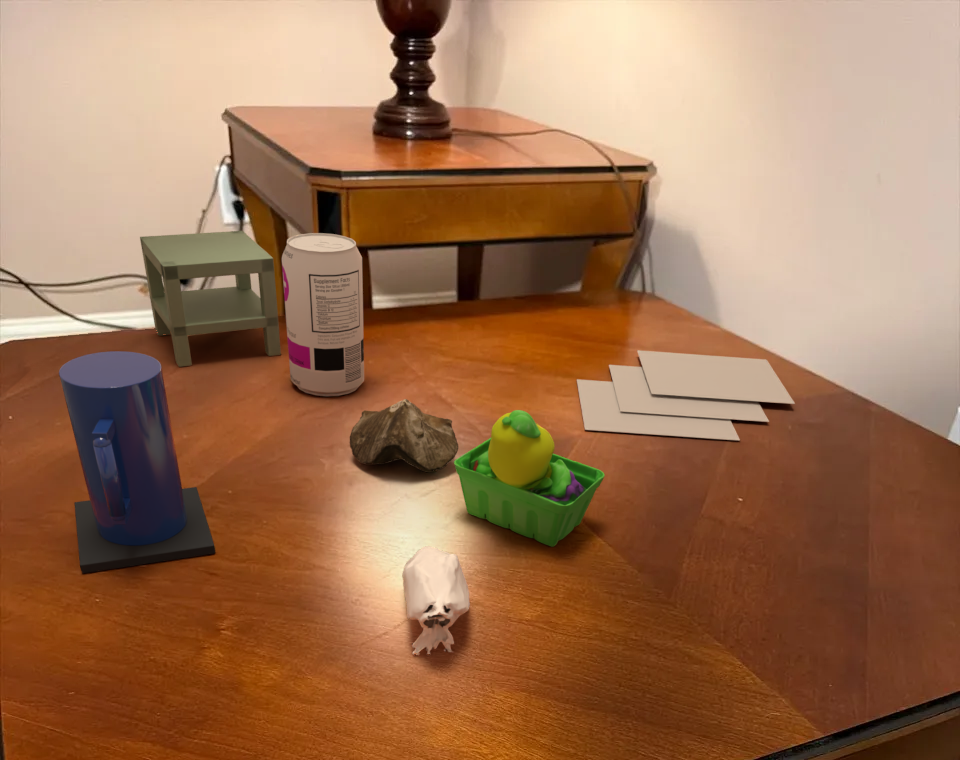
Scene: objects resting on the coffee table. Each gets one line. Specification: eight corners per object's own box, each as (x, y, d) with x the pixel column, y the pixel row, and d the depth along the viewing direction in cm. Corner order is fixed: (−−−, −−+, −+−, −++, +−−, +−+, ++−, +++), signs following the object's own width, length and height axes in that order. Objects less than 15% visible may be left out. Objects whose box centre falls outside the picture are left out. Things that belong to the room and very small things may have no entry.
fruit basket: (600, 522, 77) (621, 402, 70) (551, 566, 71) (569, 439, 64) (493, 483, 82) (502, 366, 75) (439, 520, 76) (443, 398, 69)
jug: (107, 501, 73) (72, 349, 65) (193, 501, 74) (168, 352, 66) (79, 565, 66) (35, 402, 58) (174, 564, 67) (144, 404, 59)
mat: (76, 510, 74) (74, 501, 73) (197, 494, 77) (196, 486, 76) (82, 573, 66) (79, 565, 66) (215, 553, 70) (214, 545, 69)
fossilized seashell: (472, 431, 85) (383, 424, 89) (450, 386, 79) (357, 380, 83) (448, 496, 82) (358, 485, 86) (424, 454, 77) (328, 445, 80)
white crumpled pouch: (484, 661, 63) (460, 560, 69) (476, 604, 58) (451, 499, 64) (417, 674, 63) (399, 572, 69) (403, 618, 58) (385, 512, 63)
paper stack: (816, 446, 93) (819, 439, 92) (584, 429, 92) (585, 423, 92) (765, 364, 111) (766, 359, 111) (571, 350, 110) (572, 345, 110)
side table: (178, 367, 99) (163, 266, 92) (155, 332, 107) (139, 236, 100) (281, 354, 104) (273, 258, 97) (251, 322, 112) (242, 230, 105)
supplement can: (279, 391, 95) (267, 246, 86) (308, 365, 101) (300, 228, 92) (349, 403, 94) (344, 257, 85) (374, 376, 100) (372, 237, 91)
